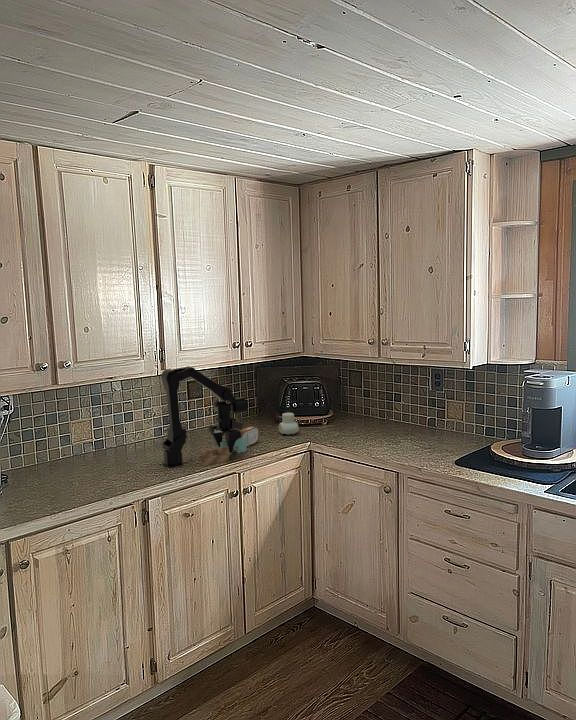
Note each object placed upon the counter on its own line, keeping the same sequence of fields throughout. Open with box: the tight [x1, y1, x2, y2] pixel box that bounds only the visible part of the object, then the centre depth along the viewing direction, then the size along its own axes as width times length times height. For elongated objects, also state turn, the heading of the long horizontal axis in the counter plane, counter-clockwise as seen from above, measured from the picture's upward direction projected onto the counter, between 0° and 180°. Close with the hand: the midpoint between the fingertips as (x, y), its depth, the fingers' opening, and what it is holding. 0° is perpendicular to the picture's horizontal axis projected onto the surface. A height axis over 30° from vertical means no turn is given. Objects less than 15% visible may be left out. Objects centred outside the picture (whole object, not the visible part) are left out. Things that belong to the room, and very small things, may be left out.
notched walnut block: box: [200, 446, 230, 467], centre depth 251 cm, size 12×2×6 cm, turn 125°
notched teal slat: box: [220, 438, 248, 456], centre depth 264 cm, size 12×2×6 cm, turn 126°
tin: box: [239, 425, 260, 448], centre depth 277 cm, size 15×3×8 cm, turn 149°
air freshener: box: [278, 412, 300, 436], centre depth 297 cm, size 11×8×10 cm
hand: (225, 450), depth 262 cm, fingers open, 9 cm apart
